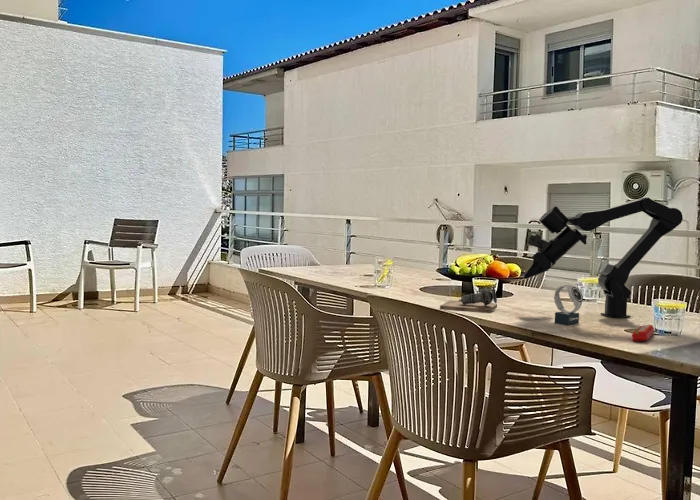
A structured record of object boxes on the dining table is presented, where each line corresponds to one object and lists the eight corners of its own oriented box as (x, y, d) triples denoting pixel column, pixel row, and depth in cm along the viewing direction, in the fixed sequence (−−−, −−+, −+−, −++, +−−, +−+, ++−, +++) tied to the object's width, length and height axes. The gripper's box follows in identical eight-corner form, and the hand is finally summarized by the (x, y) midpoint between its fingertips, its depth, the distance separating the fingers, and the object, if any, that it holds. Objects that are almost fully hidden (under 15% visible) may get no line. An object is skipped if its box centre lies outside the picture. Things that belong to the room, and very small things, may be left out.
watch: (574, 326, 186) (575, 287, 185) (549, 322, 192) (550, 284, 191) (585, 324, 189) (586, 286, 189) (560, 320, 196) (561, 283, 195)
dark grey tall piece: (492, 285, 212) (455, 291, 216) (495, 304, 211) (458, 309, 215) (494, 286, 217) (458, 292, 221) (497, 304, 216) (461, 309, 220)
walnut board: (497, 306, 221) (497, 303, 221) (490, 312, 208) (490, 309, 208) (449, 303, 227) (449, 300, 227) (440, 308, 214) (440, 305, 214)
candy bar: (640, 333, 179) (640, 322, 179) (655, 335, 177) (655, 323, 177) (630, 342, 165) (630, 330, 165) (646, 344, 163) (646, 332, 163)
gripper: (546, 224, 216) (511, 257, 221) (540, 225, 199) (502, 261, 204) (571, 249, 214) (535, 281, 219) (567, 252, 197) (528, 287, 201)
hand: (524, 277), depth 211 cm, fingers closed
